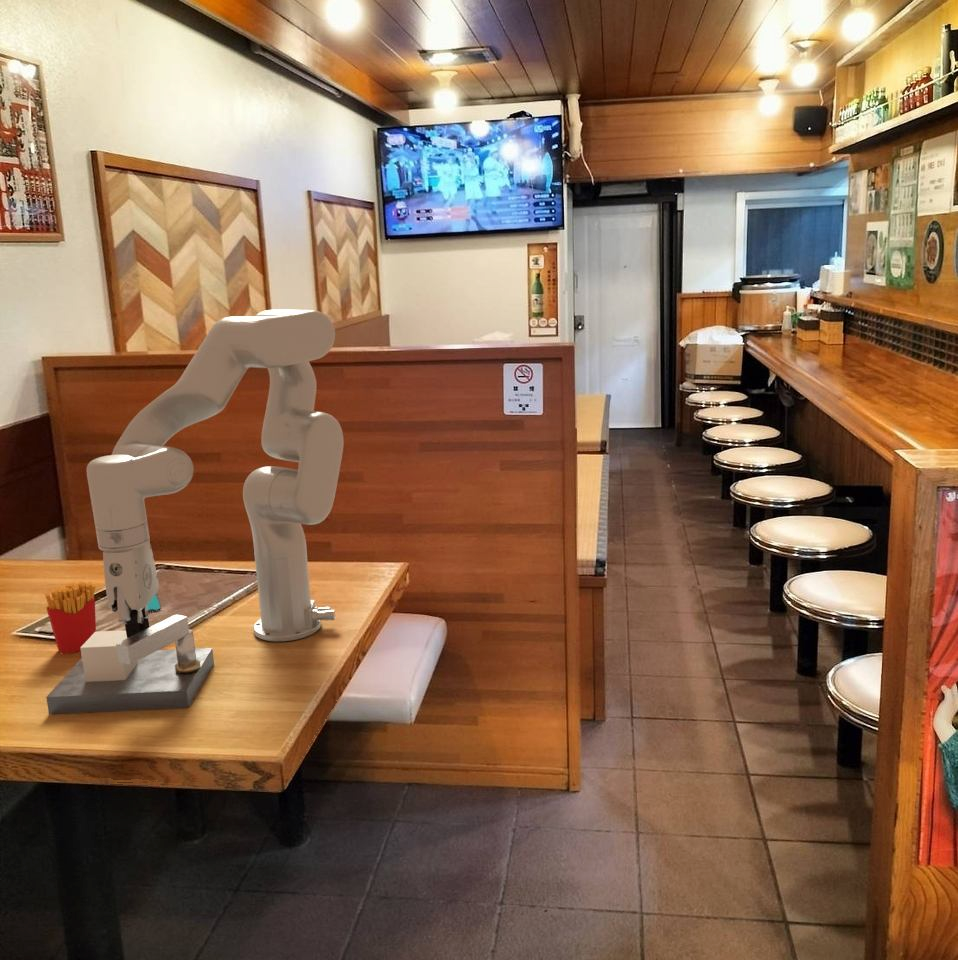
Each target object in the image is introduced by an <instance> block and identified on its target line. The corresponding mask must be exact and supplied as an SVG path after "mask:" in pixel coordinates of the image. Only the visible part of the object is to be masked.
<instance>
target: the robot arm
mask: <svg viewBox="0 0 958 960" xmlns="http://www.w3.org/2000/svg"><path fill="white" fill-rule="evenodd" d="M335 339H336V329H335V326H334V323H333V322H332V320H331V319H330V318H329V316H328V315H327V314H325V313H323V312H321V311H318V310H314V309H267V310H263V311H260V312H258V313H256V314H255V315H254V316H227V317H223V318H221V319H219V320H217V321H216V322H215V323H214V324H213V325H212V326H211V328H210V329H209V331H208V333H207V334H206V336H205V337H204V339H203V340H202V342H201V344H200V345H199V347H198V349H197V350H196V352H195V354H194V355H193V356H192V358H191V360H190V362H189V363H188V365H187V366H186V368H185V369H184V370H183V373H182V374H181V376H180V377H179V378H178V380H177V381H176V382H175V384H173V386H171V387H170V388H168V389H167V390H165V391H163V392H162V393H161V394H160V395H159V396H157V397H156V398H155V399H153V400H152V401H150V403H148V404H147V405H146V406H145V407H144V408H142V409H141V410H140V411H139V412H138V413H137V414H136V415H135V416H134V417H133V418H132V420H130V422H129V423H128V425H127V426H126V428H125V430H124V431H123V432H122V434H121V436H119V437H120V438H119V439H118V440H117V442H116V444H115V446H114V448H113V449H112V453H111V454H110V455H104V456H99V457H97V458H94V459H92V460H91V461H89V463H88V464H87V466H86V477H87V483H88V490H89V497H90V504H91V510H92V514H93V520H94V521H93V522H94V527H95V533H96V539H97V546H98V549H99V550H100V551H102V556H103V558H102V561H103V562H102V563H103V574H104V583H105V593H106V599H107V603H108V607H109V610H110V611H112V612H113V613H116V612H117V621H118V622H121V623H122V622H123V625H124V627H125V630H126V635H127V638H129V637H131V636H133V635H135V634H137V633H139V632H141V631H143V630H145V629H147V628H149V627H150V622H149V618H148V617H149V613H148V605H147V604H148V602H149V601H150V600H151V599H152V598H153V597H154V595H155V594H156V595H157V593H158V591H159V588H160V585H159V584H160V583H159V578H158V572H157V569H156V568H157V567H156V563H155V559H154V554H153V553H154V552H153V550H152V545H151V543H150V541H151V539H150V538H151V537H150V531H149V525H148V518H147V509H146V504H145V499H146V498H151V497H156V496H163V495H164V496H165V495H172V494H175V493H177V492H178V493H179V492H180V491H182V490H183V489H185V488H186V487H187V486H188V485H189V483H190V482H191V481H192V479H193V476H194V470H195V469H194V464H193V461H192V459H191V457H190V456H189V455H188V454H187V453H186V452H185V451H183V450H181V449H179V448H176V447H173V446H167V445H166V443H167V442H168V441H169V440H170V439H171V438H172V437H173V436H175V434H177V433H178V432H180V431H182V430H183V429H185V428H187V427H189V426H192V425H194V424H197V423H199V422H202V421H205V420H207V419H210V418H211V417H214V416H216V415H218V414H220V413H221V412H222V411H223V410H224V409H225V408H226V406H227V405H228V403H229V401H230V399H231V397H232V396H233V394H234V391H236V389H237V387H238V385H239V383H240V382H241V380H242V378H243V376H244V375H246V372H247V370H248V369H250V368H258V369H267V371H268V376H269V388H268V389H269V390H268V395H267V401H266V407H265V408H266V409H265V412H264V413H265V414H264V417H263V423H262V428H261V438H260V439H261V440H260V441H261V447H262V449H263V451H264V453H265V454H267V455H268V456H269V457H272V458H274V459H277V460H282V461H286V462H293V463H298V467H297V469H294V468H289V467H282V466H271V465H270V466H269V465H268V466H263V467H259V468H256V469H254V470H253V471H251V473H249V474H248V476H247V477H246V479H245V481H244V483H243V487H242V500H243V504H244V507H245V511H246V513H247V517H248V520H249V521H248V522H249V525H250V529H251V535H252V541H253V550H254V551H253V552H254V561H255V572H256V581H257V591H258V593H257V594H258V602H259V610H260V618H259V619H258V620H257V621H256V622H255V623H254V625H253V634H254V635H255V636H256V637H257V638H259V639H260V640H263V641H269V642H289V641H290V642H291V641H296V640H300V639H304V638H306V637H308V636H312V635H313V634H315V633H316V632H317V631H319V630H320V628H321V626H322V621H326V622H327V621H336V611H335V609H331V606H323V607H318V606H317V605H316V602H315V599H311V588H310V587H311V586H310V576H309V575H310V573H309V564H308V553H307V552H308V550H307V542H306V541H307V540H306V535H305V531H304V528H303V526H302V525H309V526H311V525H312V526H313V525H317V524H320V523H322V522H323V521H325V520H326V518H327V517H328V516H329V514H330V513H331V511H332V509H333V506H334V501H335V498H336V492H337V488H338V486H337V485H338V480H339V476H340V469H341V463H342V459H343V453H344V444H345V442H344V435H343V429H342V427H341V424H340V422H339V421H338V419H336V418H335V417H334V416H333V415H332V414H329V413H326V412H323V411H317V410H316V411H315V404H316V396H317V379H316V376H315V372H314V370H313V367H312V365H311V363H310V362H311V361H315V360H319V359H322V358H323V357H324V356H326V355H327V354H329V352H330V351H331V350H332V348H333V347H334V346H333V345H334V343H335Z"/></svg>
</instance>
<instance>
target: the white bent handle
mask: <svg viewBox="0 0 958 960" xmlns="http://www.w3.org/2000/svg"><path fill="white" fill-rule="evenodd" d="M173 643H174V644H175V650H176V654H177V661H178V663H177V664H176V665H175V670H176V672H179V673H189V672H193V671H195V670H197V669H199V668H200V661H199V660H196V651H195V649H196V644H195V635H194V630H192V629H189V621H188V616H185V615H181V614H177V613H175V614H173V615H171V616H170V617H167V618H166V619H164V620H163V619H162V621H159V622H157V623H155V624H153V625H151V626H149V628H147V629H145V630H143V631H141V632H139V633H137V634H135V635H133V636H131V637H129V638H127V639H125V640H123V641H121V642H119V643H117V644H116V649H117V656H118V662H120V663H125V664H129V665H131V664H133V663H135V662H136V661H138V660H140V659H142V658H144V657H146V656H148V655H150V654H152V653H153V652H155V651H157V650H162V648H165V647H168V646H169V645H171V644H173Z"/></svg>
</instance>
